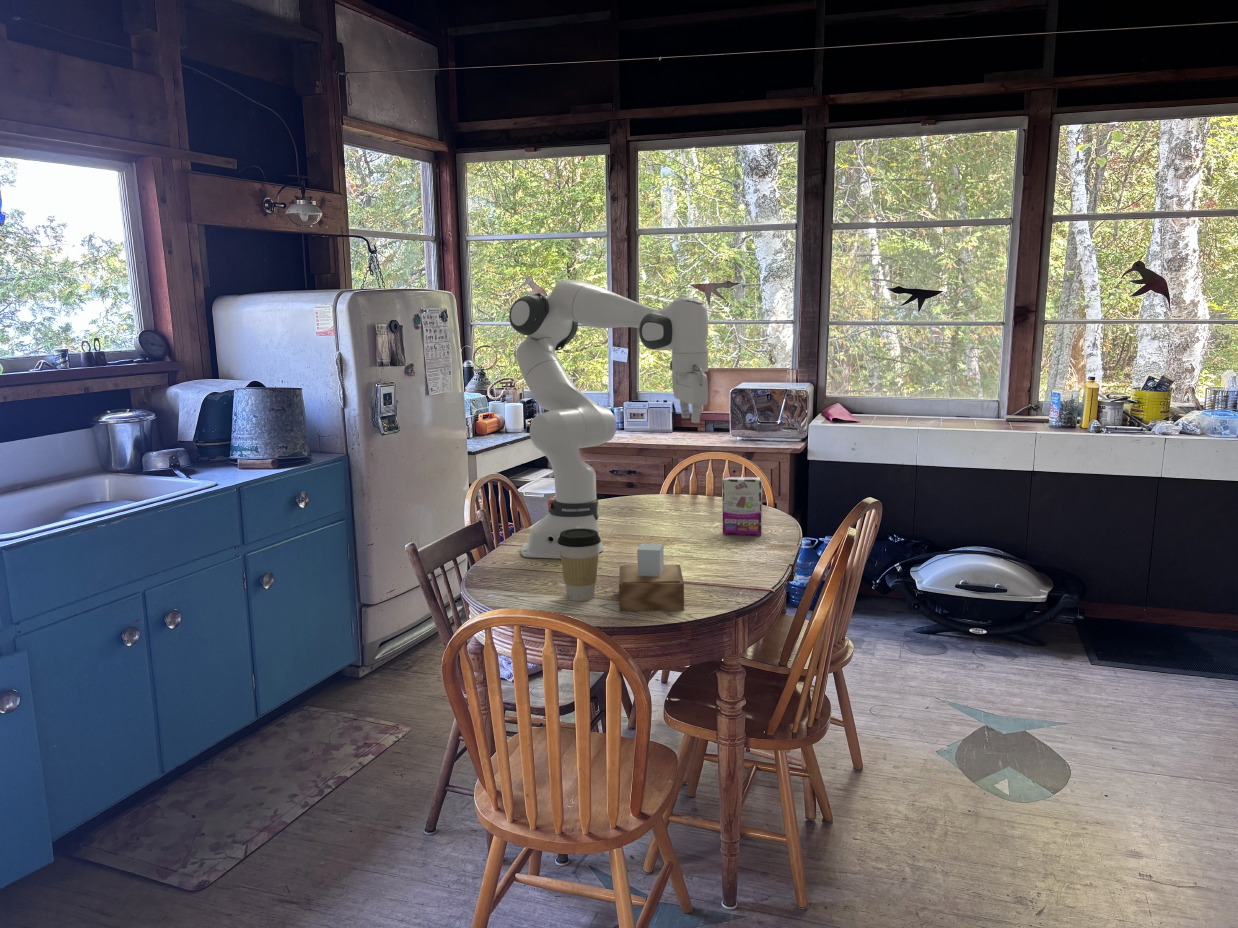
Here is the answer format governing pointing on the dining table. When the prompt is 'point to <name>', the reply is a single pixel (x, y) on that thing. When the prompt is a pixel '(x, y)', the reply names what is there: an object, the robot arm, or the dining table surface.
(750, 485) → the candy bar box
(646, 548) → the painted block
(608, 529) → the dining table surface
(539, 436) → the robot arm
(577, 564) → the coffee cup
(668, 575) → the block
